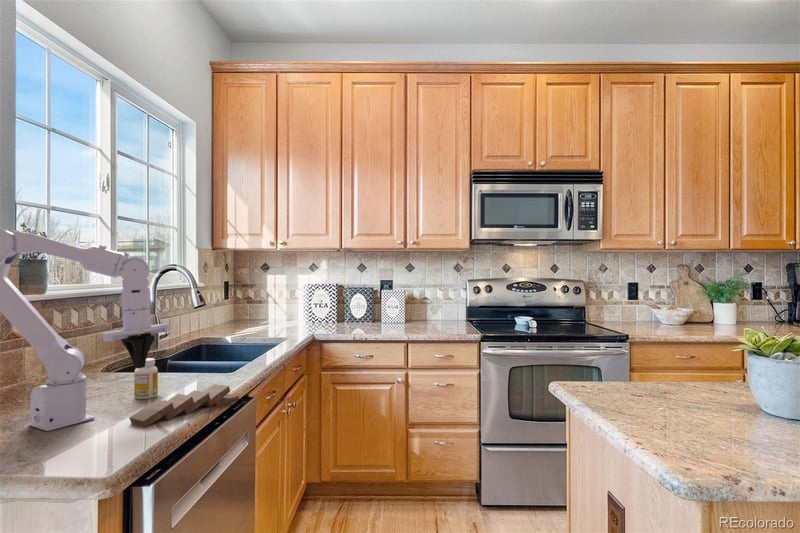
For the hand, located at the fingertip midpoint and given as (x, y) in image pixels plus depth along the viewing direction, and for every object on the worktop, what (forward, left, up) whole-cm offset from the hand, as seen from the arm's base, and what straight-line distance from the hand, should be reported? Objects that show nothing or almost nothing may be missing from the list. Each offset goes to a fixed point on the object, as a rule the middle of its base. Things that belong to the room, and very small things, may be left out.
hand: (139, 367), depth 111 cm
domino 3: (+4, -9, -10) cm, 14 cm away
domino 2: (-1, -9, -10) cm, 13 cm away
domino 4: (+10, -9, -9) cm, 16 cm away
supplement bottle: (+9, +11, -11) cm, 18 cm away
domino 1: (-6, -9, -10) cm, 14 cm away
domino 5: (+12, -9, -10) cm, 18 cm away
